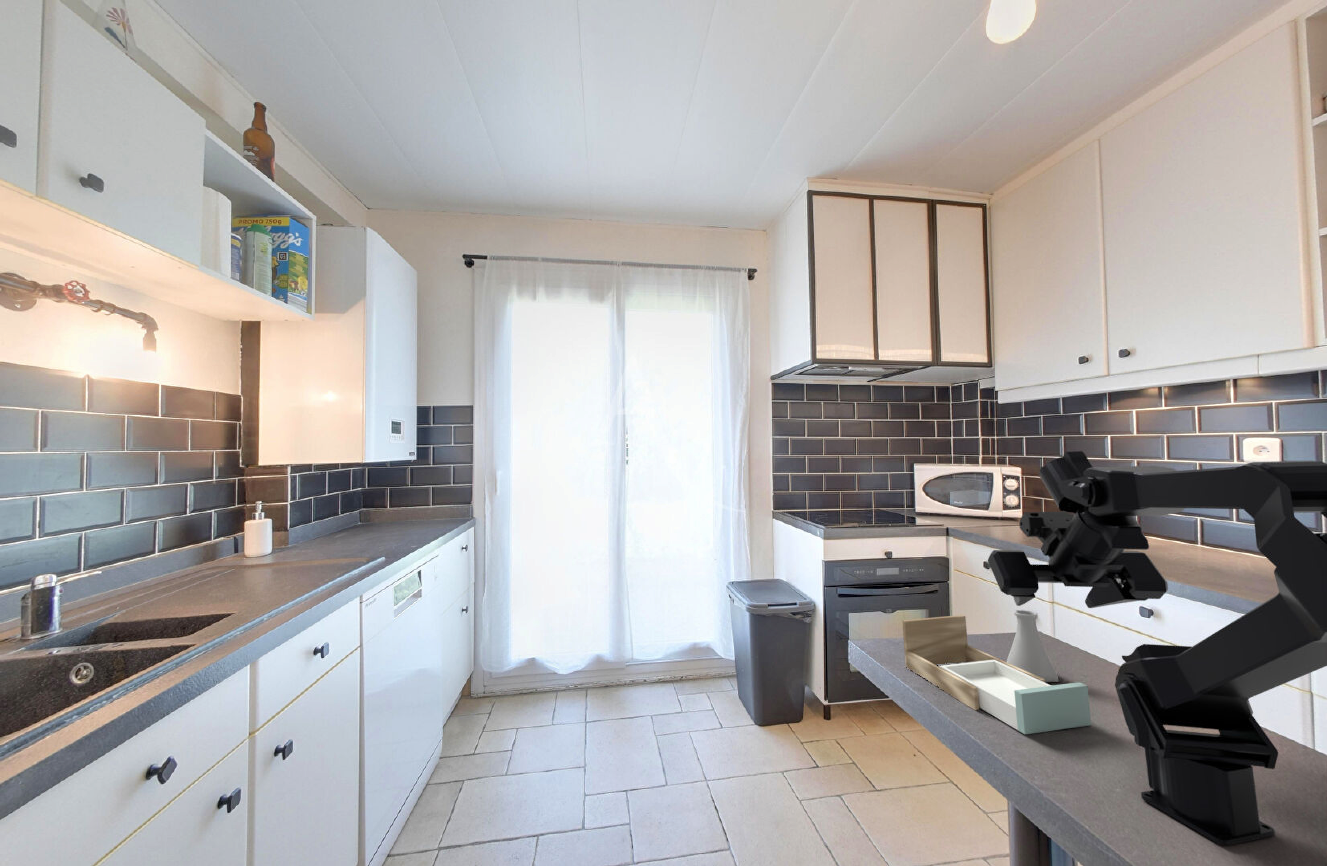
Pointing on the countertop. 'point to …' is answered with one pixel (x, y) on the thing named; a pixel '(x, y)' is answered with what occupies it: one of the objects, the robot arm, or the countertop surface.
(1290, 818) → the countertop surface
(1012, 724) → the tray
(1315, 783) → the countertop surface
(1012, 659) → the flask
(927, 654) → the dock
